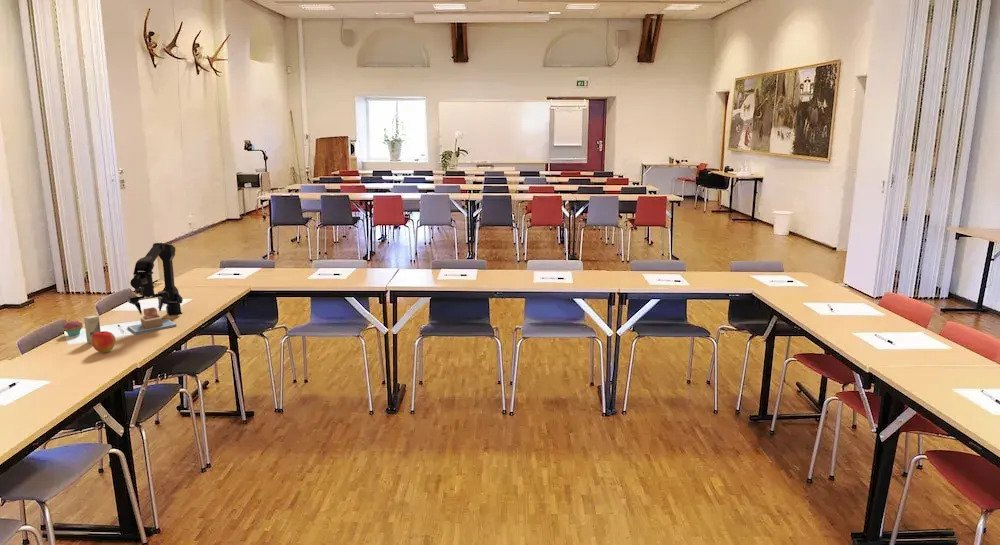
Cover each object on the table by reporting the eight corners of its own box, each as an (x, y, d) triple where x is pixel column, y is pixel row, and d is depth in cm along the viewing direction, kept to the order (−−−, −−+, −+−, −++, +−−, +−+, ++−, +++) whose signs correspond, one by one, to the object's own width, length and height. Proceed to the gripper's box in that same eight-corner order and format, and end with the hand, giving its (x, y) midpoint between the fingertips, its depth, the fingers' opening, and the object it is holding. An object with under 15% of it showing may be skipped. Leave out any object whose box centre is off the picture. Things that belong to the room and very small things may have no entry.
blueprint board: (168, 320, 361) (166, 310, 360) (176, 326, 351) (175, 315, 350) (127, 328, 348) (126, 317, 346) (135, 334, 338) (133, 323, 336)
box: (91, 344, 323) (87, 318, 320) (86, 342, 325) (83, 317, 323) (102, 341, 327) (99, 316, 325) (97, 339, 330) (94, 314, 327)
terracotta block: (154, 316, 352) (153, 307, 351) (157, 318, 348) (156, 309, 347) (144, 318, 348) (143, 309, 347) (147, 320, 345) (146, 310, 344)
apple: (105, 355, 307) (103, 335, 304) (88, 354, 308) (85, 334, 306) (121, 349, 316) (118, 329, 314) (104, 347, 318) (101, 327, 315)
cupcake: (74, 338, 332) (70, 315, 330) (60, 337, 334) (56, 314, 331) (87, 332, 341) (84, 310, 338) (73, 331, 342) (70, 309, 340)
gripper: (161, 278, 356) (164, 306, 360) (122, 284, 344) (126, 313, 347) (167, 282, 348) (171, 310, 352) (128, 288, 336) (132, 317, 339)
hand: (150, 312), depth 348 cm, fingers open, 9 cm apart
